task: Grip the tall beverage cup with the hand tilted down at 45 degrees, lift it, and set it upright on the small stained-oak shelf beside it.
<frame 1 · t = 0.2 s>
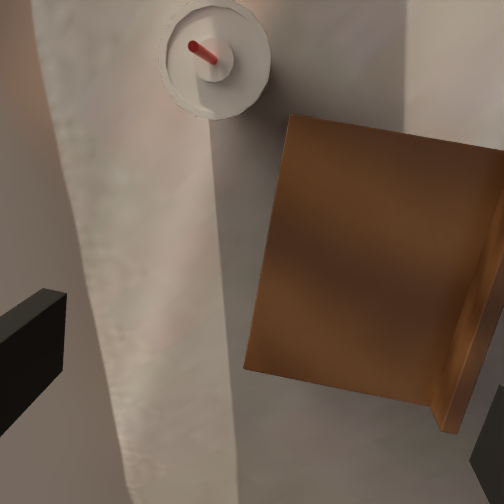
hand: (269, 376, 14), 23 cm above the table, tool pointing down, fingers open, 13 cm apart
shelf: (355, 235, 35), on the table
beverage cup: (236, 75, 33), on the table
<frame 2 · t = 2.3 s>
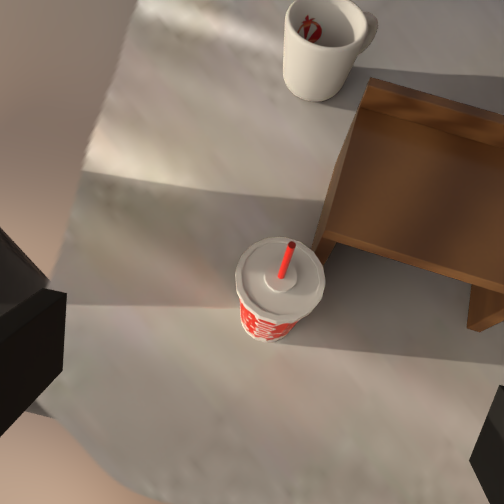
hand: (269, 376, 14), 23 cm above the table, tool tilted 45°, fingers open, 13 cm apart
cup: (321, 80, 51), on the table
shelf: (402, 241, 42), on the table
beverage cup: (266, 316, 39), on the table
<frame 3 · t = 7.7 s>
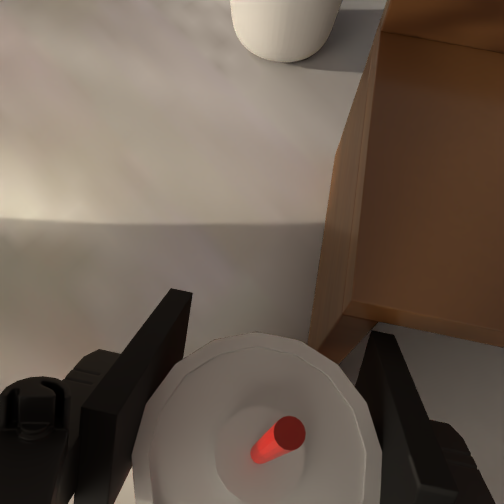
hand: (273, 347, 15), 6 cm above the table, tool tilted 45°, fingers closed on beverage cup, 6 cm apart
cup: (295, 33, 32), on the table
shelf: (471, 280, 24), on the table
beverage cup: (240, 466, 19), on the table, touching gripper
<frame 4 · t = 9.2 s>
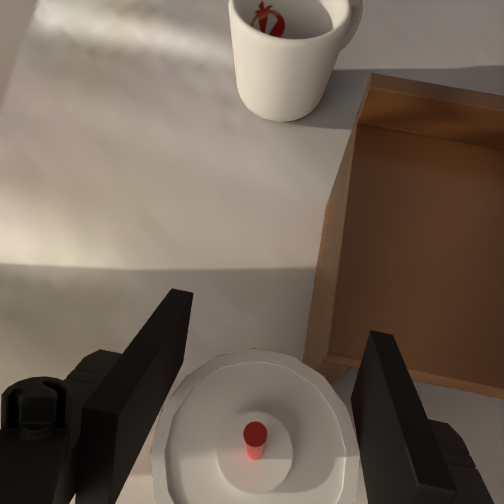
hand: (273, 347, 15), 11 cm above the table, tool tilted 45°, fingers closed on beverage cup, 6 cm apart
cup: (292, 92, 37), on the table
shelf: (441, 317, 28), on the table
beverage cup: (254, 464, 21), point 2 cm above the table, touching gripper
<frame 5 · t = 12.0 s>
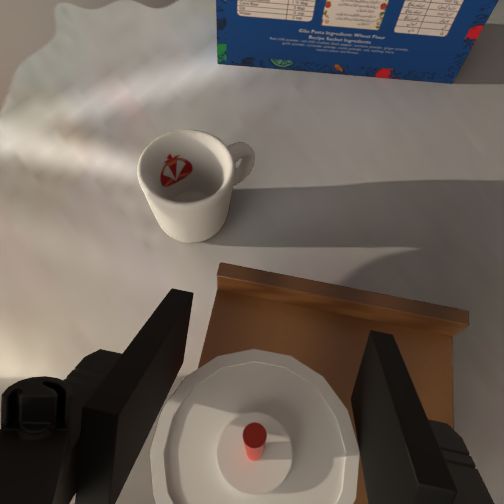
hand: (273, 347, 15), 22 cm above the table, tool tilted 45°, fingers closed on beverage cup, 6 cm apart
cup: (205, 211, 44), on the table
shelf: (302, 416, 36), on the table
blue flat box: (334, 52, 56), on the table
beverage cup: (254, 465, 21), point 14 cm above the table, touching gripper
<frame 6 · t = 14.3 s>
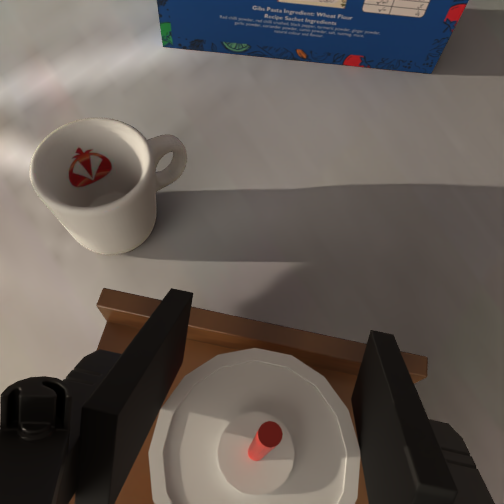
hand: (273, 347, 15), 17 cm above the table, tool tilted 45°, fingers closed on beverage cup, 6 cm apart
cup: (132, 217, 37), on the table
shelf: (229, 474, 29), on the table
blue flat box: (298, 36, 49), on the table
beverage cup: (244, 466, 21), point 9 cm above the table, touching gripper, shelf
when the fingers open (17 cm above the table, at t = 14.7 s): beverage cup stays where it is, resting on shelf.
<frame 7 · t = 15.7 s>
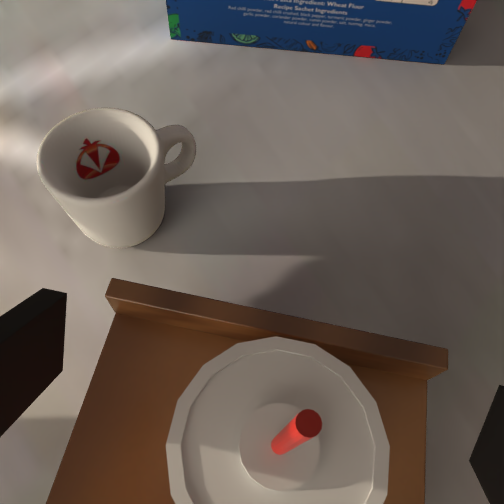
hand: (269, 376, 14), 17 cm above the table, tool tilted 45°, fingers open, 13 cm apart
cup: (140, 210, 37), on the table
shelf: (240, 471, 28), on the table
blue flat box: (308, 27, 48), on the table
beverage cup: (258, 461, 20), point 9 cm above the table, touching shelf
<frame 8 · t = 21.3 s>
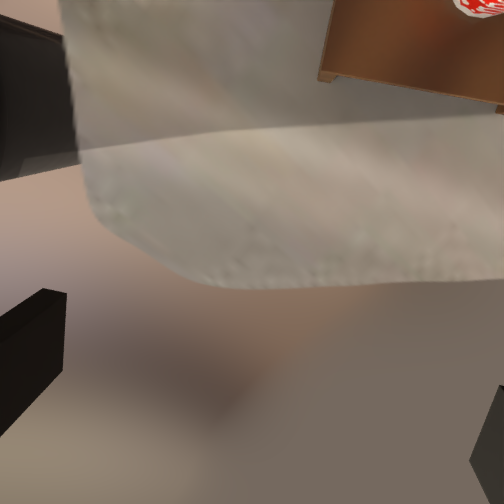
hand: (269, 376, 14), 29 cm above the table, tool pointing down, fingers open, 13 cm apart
shelf: (435, 11, 35), on the table
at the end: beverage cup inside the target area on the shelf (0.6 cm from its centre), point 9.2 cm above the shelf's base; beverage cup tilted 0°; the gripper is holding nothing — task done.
